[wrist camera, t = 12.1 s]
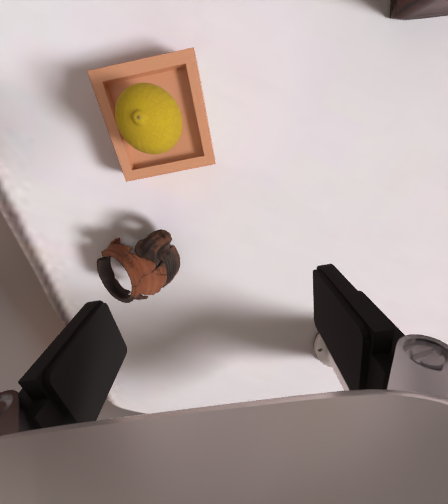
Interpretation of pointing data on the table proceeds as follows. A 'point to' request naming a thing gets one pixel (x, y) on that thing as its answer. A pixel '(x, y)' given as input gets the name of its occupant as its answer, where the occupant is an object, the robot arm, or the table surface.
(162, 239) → the pottery mug
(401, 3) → the dark square decanter
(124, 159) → the orange square tray
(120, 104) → the lemon
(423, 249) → the table surface
